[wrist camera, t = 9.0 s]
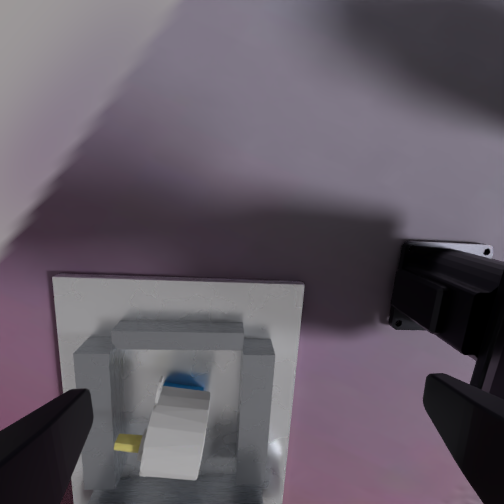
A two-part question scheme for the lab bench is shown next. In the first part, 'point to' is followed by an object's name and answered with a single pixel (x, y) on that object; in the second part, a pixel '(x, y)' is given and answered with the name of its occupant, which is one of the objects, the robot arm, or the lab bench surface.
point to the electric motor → (171, 433)
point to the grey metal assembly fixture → (182, 379)
